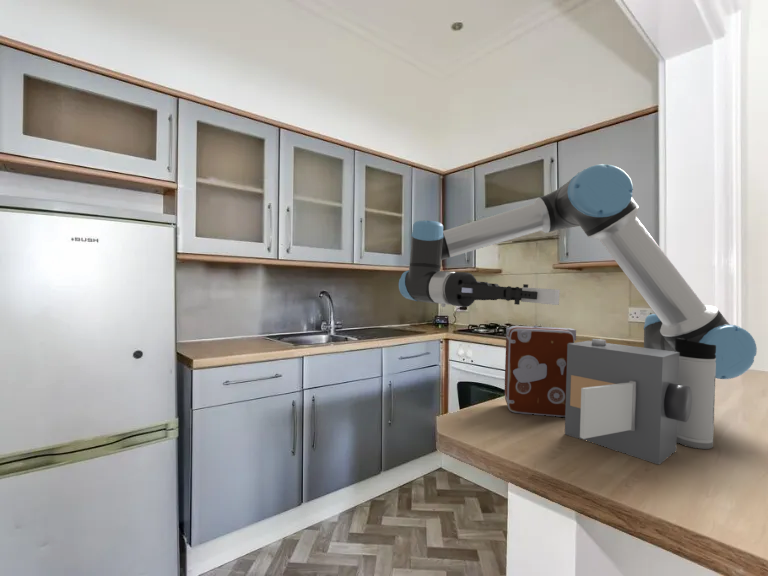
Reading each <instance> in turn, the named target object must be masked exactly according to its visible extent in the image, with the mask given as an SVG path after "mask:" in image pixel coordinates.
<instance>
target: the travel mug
mask: <svg viewBox="0 0 768 576" xmlns="http://www.w3.org/2000/svg"><path fill="white" fill-rule="evenodd" d="M675 349H676V350H675V352H680V356H679V385H684V386H689V387H690V388H691V391H692V408H691V413H690V416H689V419H688V421H687V422H683V421H678V420H677V443H678V444H679V443H680V444H679V445H681V444H682V446H684V445H686V446H685V447H688V446H689V447H688V448H692V447H693V449H697V448H698V449H697V450H699V449H700V450H709V449H712V448H713V447H714V431H715V430H714V426H715V423H714V422H715V403H716V402H715V401H716V399H715V397H716V378H715V375H716V362H715V361H716V355H715V353H716V345H710V344H704V343H700V342H694V341H687V339H681V338H675ZM677 443H676V444H677Z"/></svg>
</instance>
